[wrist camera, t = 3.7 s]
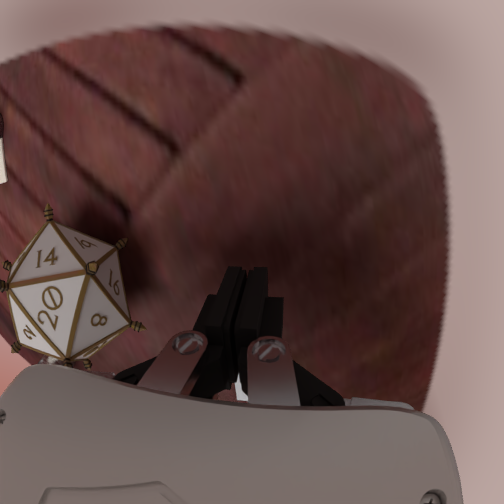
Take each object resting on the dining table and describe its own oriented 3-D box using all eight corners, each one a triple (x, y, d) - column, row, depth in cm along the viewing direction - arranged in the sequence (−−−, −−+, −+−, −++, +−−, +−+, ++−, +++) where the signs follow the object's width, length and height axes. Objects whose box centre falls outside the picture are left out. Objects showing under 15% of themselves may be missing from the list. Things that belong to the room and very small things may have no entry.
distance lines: (251, 65, 10) (250, 64, 10) (262, 400, 20) (262, 401, 20) (-33, 159, 14) (-34, 160, 14) (30, 347, 23) (30, 347, 23)
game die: (114, 215, 19) (12, 155, 9) (197, 288, 17) (83, 256, 7) (58, 309, 18) (-45, 296, 8) (125, 389, 16) (11, 427, 6)
